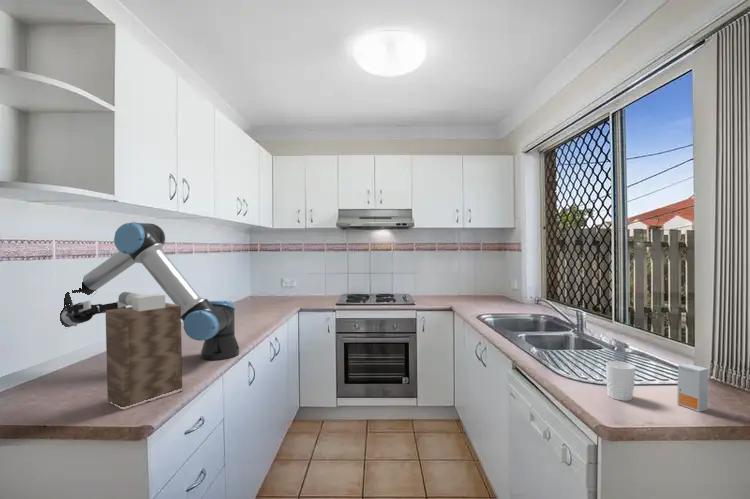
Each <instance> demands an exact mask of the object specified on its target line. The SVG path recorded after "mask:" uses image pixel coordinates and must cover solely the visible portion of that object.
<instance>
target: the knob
mask: <svg viewBox="0 0 750 499" xmlns="http://www.w3.org/2000/svg"><path fill="white" fill-rule="evenodd" d="M118 301H119V302H120V303H122V304H126V305H128V306H130V307H132V310H134V311H145V310H152V309H160V308H165V303H166V295H165V294H163V293H162V294H161V293H155V294H143V293H142V294H141V293H137V292H136V293H134V292H129V291H123V292H121V293H120V294H119V295H118Z"/></svg>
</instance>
